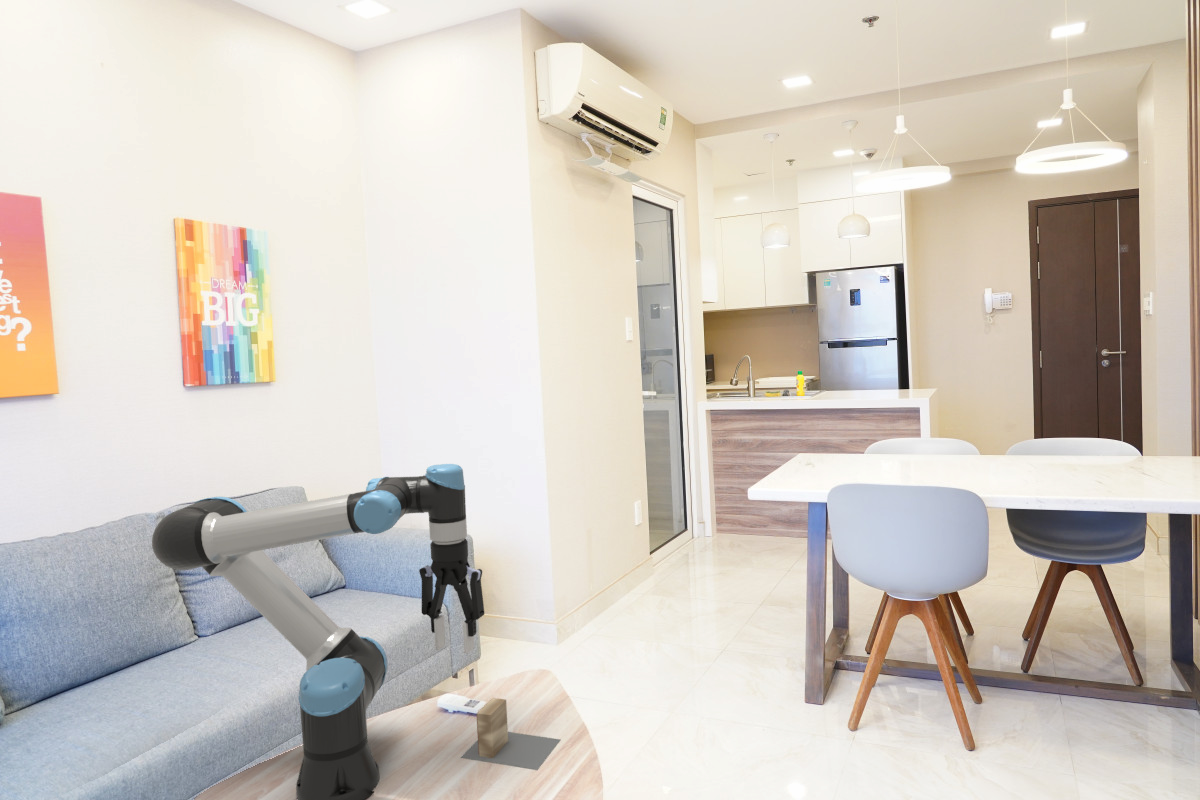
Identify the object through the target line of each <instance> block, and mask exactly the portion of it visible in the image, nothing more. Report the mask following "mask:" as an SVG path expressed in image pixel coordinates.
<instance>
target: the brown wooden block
mask: <svg viewBox="0 0 1200 800" xmlns="http://www.w3.org/2000/svg"><path fill="white" fill-rule="evenodd" d="M475 716H476V731H477V733H476V734H477V740H478V753H479V756H482V757H488V758H493V757H494V756H495V755H496V754H497V753H498V752H499V751H500V750H501V748H502V747H503V746H504V745H505V744H506V743H507V742H508V732H509V730H508V729H509V728H508V727H509V726H508V709H507V699H506V698H497V697H492V698H490V700H489V701H488V702H487V703H486V704H484V706H483V707H481V709H479V710H478V712H476V715H475Z"/></svg>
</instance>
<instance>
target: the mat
mask: <svg viewBox="0 0 1200 800" xmlns="http://www.w3.org/2000/svg"><path fill="white" fill-rule="evenodd" d="M560 741H561V739H559V738H552V737H546V736H540V735H539V736H538V735H533V734H525V733H520V732H519V733H518V732H511V731H508V742H507V743H506V744H505V745H504V746H503V747H502V748H501V750H500V751H499V752H498V753H497V754H496V755H495V756H494V757H493V758H488V757H482V756H479V753H478V739H477V740H476V741H475V742H474V743H473V744H472V745H471V746H470V747H469V748H468V749H467V750H466V751H465V752H464V753H463V754H462V756H460V759H466V760H472V761H477V762H484V763H491V764H497V765H503V766H509V767H516V768H522V769H529V770H532V771H533V770H534V771H538V770H539V769H540V767H541V766H542V765H543V764H544V762H545V761H546V760H547V758H548V757H549V756H550V755H551V753H552V752H553V751H554V750H555V748H556V747H557V745H558V744H559V743H560Z"/></svg>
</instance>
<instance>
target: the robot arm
mask: <svg viewBox="0 0 1200 800" xmlns="http://www.w3.org/2000/svg"><path fill="white" fill-rule="evenodd" d="M425 472H426V473H425V474H424V475H420V476H394V477H393V476H383V477H379V478H378V477H376V478H371V479H370V480H369V481H368V483H367V486H366V487H365V490H364V491H360V492H354V493H348V494H347V493H346V494H344V495H337V496H330V497H325V498H320V499H315V500H308V501H302V502H298V503H290V504H286V505H278V506H275V507H274V506H273V507H267V508H263V509H257V510H252V511H247V509H246V508H245V507H244V505H242V504H241V502H238V501H237V500H235V499H233V498H230V497H225V496H212V497H205V498H202V499H199V500H196V501H195V502H194V503H193V504H190V505H187V506H185V507H183V508H180V509H178V510H174V511H172V512H170V513H168V514H167V515H166V516H165V517H163V518H162V519H161V520H160V521H159V522H158V524H157V525H156V526H155V529H154V530H153V533H152V537H151V548H152V551H153V554H154V555H155V557H156V559H158V561H159V562H160V563H161V564H163V565H164V566H166V567H168V568H171V569H174V570H177V571H189V570H194V569H198V568H202V569H203V570H204V571H205V572H206V573H208V575H209V576H210V577H222V578H224V579H225V580H227V582H228V583H229V584H230V585H231V586H232V587H233V588H234V589H235V590H236V591H237V592H238V593H239V594H240V595H241V596H242V597H243V598H244V599H245V600H247V602H248V603H249V604H250V605H251V606H252V607H253V608H255V610H256V611H257V612H258V613H260V615H261V616H263V618H264V619H265V620H266V621H268V623H270V624H271V626H272V627H274V629H276V630H277V631H278V633H279V634H280V635H282V637H283V638H284V639H285V640H287V641H288V643H290V644H291V646H293V648H295V650H297V651H298V652H299V653H300V655H301V656H303V657H304V659H305V660H306V669H305V670H306V671H305V672H304V674H303V675H302V677H301V679H300V681H299V690H298V703H299V707H300V708H299V711H300V721H301V732H302V733H301V737H302V748H303V759H302V762H301V765H300V769H299V772H298V773H299V774H298V778H297V779H296V780H297V781H296V784H295V785H296V786H295V792H296V793H295V794H296V795H295V796H296V800H297V799H298V800H366V799H367V798H368V797H370V796H371V795H373V793H374V792H375V791H374V789H375V788H376V787H377V786H378V784H379V783H380V782H379V781H380V768H379V765H378V763H377V761H376V760H375V759H374V756H373V753H372V749H371V748H370V745H369V741H368V740H369V738H368V727H367V726H368V725H367V723H368V722H367V709H368V708H369V706H370V704H371V703H372V701H373V700H374V697H376V694H377V692H378V691H380V689H381V688H382V686H383V685H384V682H385V679H386V675H387V672H388V664H389V663H388V657H387V654H386V651H385V649H384V648H383V646H382V645H381V644H380V643H379V642H378V641H377V640H375V639H374V638H372V637H369V636H365V637H364V636H362V635H361V636H360V635H358V634H357V633H356V632H355V631H354V630H353V629H352V627H339V626H338V625H337V624H336V622H335V621H333V619H331V617H329V615H328V614H326V612H324V610H322V609H321V607H320V606H319V605H317V604H316V603H315V601H313V600H312V599H311V597H309V596H308V595H307V594H306V593H305V592H304V590H302V588H300V587H299V586H298V585H297V584H296V583H295V581H293V580H292V578H290V577H289V576H288V575H287V574H286V572H284V570H282V569H281V567H280V566H278V565H277V563H275V562H274V560H273V559H272V558H271V557H269V555H267V553H266V552H265V551H264V550H270V549H277V548H280V547H288V546H293V545H297V544H302V543H309V542H314V541H319V540H326V539H332V538H337V537H341V536H342V537H343V536H347V535H352V534H360V533H367V534H370V535H378V534H382V533H384V532H386V531H388V530H390V529H392V528H394V526H395V525H396V524H397V523H398V521H400V520H401V518H402V517H403V516H404V515H407V514H425V513H427V514H428V526H429V540H430V541H431V543H430V545H429V546H430V558H431V560H432V561H431V565H425V566H423V567H421V568H419V569H418V571H419V572H418V573H419V576H420V578H421V614H422V615H423V616H425V615H427V616H428V617H429V618H430V626H431V627H430V629H431V632H432V634H434V645H435V651H440V650H441V649H443V648H444V647H446V630H445V629H446V628H445V627H446V626H445V615H443V614H442V613H443V612H442V607H443V603H444V599H445V594H446V590H447V586H448V585H449V586H451V587H453V589H454V591H455V592H456V594H457V596H458V599H459V600H458V601H459V603H460V606H461V609H462V612H463V615H464V618H465V620H464V621H462V634H463V650H464V654H469V653H471V651H473V650H474V649H475V643H474V642H475V641H474V640H475V638H474V636H475V635H477V631H478V630H477V620H479V619H481V618H482V617H483V616H484V615H485V605H484V598H483V589H482V588H483V587H482V576H483V570H482V569H481V568H477V569H475V568H473V567H471V565H470V564H469V561H468V558H469V548H468V547H469V546H468V545H469V543H468V539H466V538H467V536H468V529H467V528H468V526H467V509H466V507H467V505H466V485H465V479H464V478H465V477H464V470H463V468H462V466H461V465H460V464H454V463H442V464H434V465H430V466H428V467H427V468H426V471H425ZM433 575H434V576H435V577H436V580H435V584H434V576H433ZM467 575H468V580H469V583H468V580H467ZM468 584H469V587H470V590H469V587H468Z"/></svg>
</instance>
